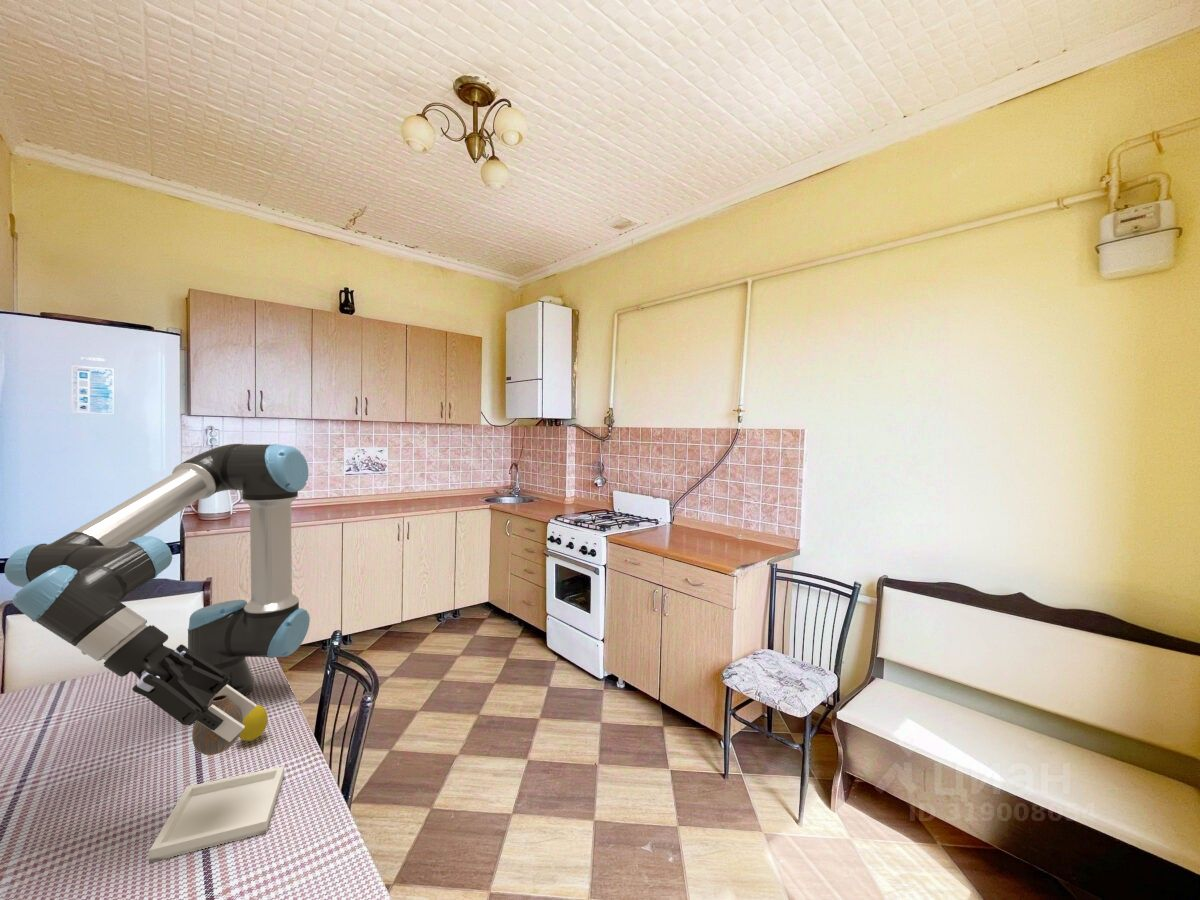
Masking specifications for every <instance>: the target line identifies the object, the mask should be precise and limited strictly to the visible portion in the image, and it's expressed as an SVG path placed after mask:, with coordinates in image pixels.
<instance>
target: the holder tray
mask: <svg viewBox="0 0 1200 900" xmlns="http://www.w3.org/2000/svg"><path fill="white" fill-rule="evenodd" d="M284 777H285V765H282V766H278V767H272V768H268V769H263V770H259V771H254V772H249V773H243V774H239V775H236V776H235V775H234V776H230V777H225V778H222V779H216V780H211V781H210V780H209V781H206V782H202V783H199V784H198V783H197V784H193V785H188V786H186V787H185V788H184V790H183V793H182V794H181V795H180V797H179V799H178V800H177V803H176V804H175V806H174V808H173V809H172V811H171V813H170V814H169V816H168V818H167V819H166V821H165V823H164V824H163V826H162V828H161V829H160V831H159V833H158V835H157V836H156V838H155V840H154V842H153V844H151V847H150V848H149V850H148V851H149V852H148V853H149V854H148V856H149V857H148V858H149V859H148V864H152V863H156V862H160V861H162V860H163V859H164V860H167V859H166V858H168V859H171V858H170V857H172V858H174V857H173V856H176V857H178V856H177V855H179V854H183V855H185V854H184V853H187V854H190V853H189V852H191V853H193V852H192V851H195V852H197V851H196V850H199V851H201V849H203V850H206V849H205V848H207V849H209V848H208V847H211V848H214V847H213V846H215V847H218V846H221V845H220V844H222V845H225V844H224V843H226V844H229V843H228V842H230V843H233V842H232V841H234V842H237V840H238V841H241V839H242V840H245V839H244V838H246V839H248V838H247V837H250V838H252V837H251V836H253V837H257V836H260V834H261V835H265V834H267V831H268V828H269V825H270V822H271V818H272V816H273V813H274V809H275V807H276V803H277V799H278V796H279V793H280V790H281V787H282V784H283V780H284ZM256 835H257V836H256ZM217 845H218V846H217ZM179 856H180V855H179Z"/></svg>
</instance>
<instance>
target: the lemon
mask: <svg viewBox="0 0 1200 900" xmlns="http://www.w3.org/2000/svg"><path fill="white" fill-rule="evenodd" d="M268 720H269V717H268V713H267V710H266V708H265V707H264V706H262V705H260V704H256V707H255V708H254V709H253V710H252V711H251V712H250V713H249V714H248V715H247V716H246V717H245V718H244V719H243V725H244V726H245V727H244V729H243V730H242V731H241V734H240V736H239V738H238V739H240V740H242V741H248V742H250V743H252V742H254V741H255V740H256V739H258V737H260V736H261V735H262V734H263V733H264V732H265V731H266V728H267V726H268Z"/></svg>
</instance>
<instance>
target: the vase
mask: <svg viewBox="0 0 1200 900" xmlns="http://www.w3.org/2000/svg"><path fill="white" fill-rule="evenodd" d="M212 704H213V705H215V706H216V707H217V708H219V709H220V710H222V711H223V712H225V713H226V714H228V715H229V716H231V717H232V718H234V719H235V720H237V721H238V722H240V723H241V724H243V715H242V711H241V709H240V708H239V706H238V705H236V704H235V703H234V702H233V701H231V700H230V698H229V696H228V695H226V694H222V695H217V696H215V697H213V698H212V699H211V700H210V702H209V704H208V706H209V707H210V706H211V705H212ZM240 734H241V732H240V733H239V734H238V735H237V736H236V737H235V738H234V739H233V740H232V741H231V742H228V741H227V740H225V739H224V738H222V737H221V736H219V735H218V734H216V733H215V732H213V731H212V730H210V729H209V728H207V727H206V726H204V725H203V724H201V723H200V722H198V721H195V722H194V723H193V727H192V733H191V735H192V736H191V737H192V744H193V746H194V748H195V750H196V751H197V752H198V753H200V754H202V755H205V756H213V755H217V754H221V753H224V752H225V751H227V750H229V749H230V748H232V746H234V744H235V743H236V742H237V741H238V740H239V739H240V738H239V736H240Z"/></svg>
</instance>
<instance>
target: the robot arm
mask: <svg viewBox="0 0 1200 900" xmlns="http://www.w3.org/2000/svg"><path fill="white" fill-rule="evenodd" d="M308 480H309V466H308V462H307V460H306V457H305V456H304V454H303V453H302V452H301V451H300V450H299V449H298V448H296V447H294V446H293V445H292V446H291V445H284V444H283V445H282V444H275V443H274V444H254V443H253V444H250V443H249V444H247V443H245V444H243V443H231V444H225V445H221V446H218V447H214V448H211V449H207V450H206V451H203V452H202V453H199V454H197V455H195V456H193V457H191V458H189V459H187V460H185V461H183V462H182V463H180V464H178V465H176V466H175V467H174V468H173V470H172V472H171V474H170V475H169V476H167V477H165V478H163V479H161V480H159V481H158V482H155V483H154V484H152V485H151V486H149V487H147V488H145V489H144V490H142V491H141V492H138V493H137V494H136V495H134V496H132V497H130V498H128V499H127V500H125V501H123V502H122V503H120V504H118V505H116V506H114V507H113V508H111V509H109V510H108V511H106V512H104V513H102V514H100V515H98V516H97V517H96V518H94V519H92V520H90V521H89V522H86V523H85V524H83V525H81V526H79V527H78V528H76V529H75V530H73V531H71V532H70V533H68V534H65V535H64V536H62V537H60V538H58V539H56V540H55V541H53V542H51V543H48V544H47V543H38V544H29V545H27V546H23V547H21V548H18V549H17V550H16V551H14V552H13V553H12V554H11V555H10V556H9V557H8V559H7V560H6V562H5V566H4V575H5V577H6V580H7V581H8V582H9V583H10V584H12V585H13V586H16V587H20V589H19V591H17V592H16V593H15V595H14V596H13V598H12V604H13V605H14V607H15V608H17V609H18V610H19V612H21V613H23V614H24V615H25V616H26V617H28V618H29V619H30V620H31V621H32V622H33V623H37V624H39V625H40V626H42V627H43V628H45V629H46V630H48V631H49V632H52V633H53V634H54V635H56V636H57V637H59V638H60V639H62V640H64V641H65V642H66V643H68V644H70V645H72V646H73V647H75V648H77V649H79V651H81V653H82V655H85V656H86V655H87V656H89V657H90V658H92V659H93V660H95V661H96V662H99V661H102V660H105V661H104V662H103V667H105V668H106V669H107V670H109V671H111V672H112V673H114V674H116V675H117V676H119V677H126V676H127V675H129V674H130V673H131V672H132V673H133V674H134V675H135V676H136V677H137V678H138V679H139V681H138V682H137V683H136V684H134V686H133V687H132V688H131V689H132V691H133V692H134V693H135V694H138V695H140V696H143V697H145V698H146V699H148V700H149V701H151V702H152V703H153V704H155V705H156V706H157V707H159V708H160V709H161V710H163V711H164V712H166V713H167V714H168V715H169V716H170V717H172V718H173V719H175V720H176V721H177V722H178V723H180V724H181V725H183V726H188V727H189V726H192V725H194V724H195V722H196V721H198V722H200V723H201V724H203V725H204V726H206V727H207V728H209V729H210V730H212V731H213V732H215V733H216V734H218V735H219V736H221V737H222V738H224V739H225V740H227V741H228V742H231V741H232V740H233V739H234V738H235V737H236V736H237V735H238V734H239V733H240V732H241V731H242V730H243V729H244V727H245V726H244V725H243V724H241V723H240V722H238V721H237V720H235V719H234V718H232V717H231V716H229V715H228V714H226V713H225V712H223V711H222V710H220V709H219V708H217V707H216V706H215V705H213V704H212V705H211V706H210V707H209V706H208V704H209V702H210V700H211V699H212V698H213V697H215V696H217V695H222V694H226V695H228V696H229V698H230V700H231V701H233V702H234V703H235V704H236V705H238V706H239V708H240V709H241V711H242V715H243V719H244V718H245V717H246V716H247V715H248V714H249V713H250V712H251V711H252V710H253V709H254V708H255V707H256V705H257V704H256V703H255V702H253V701H252V700H251V699H249V698H247V695H248V694H249V693H248V692H250V691H251V692H252V690H253V689H254V676H253V675H252V672H251V669H250V667H249V664H248V662H247V657H248V658H269V659H273V658H285V657H288V656H290V655H292V654H294V653H295V652H296V651H297V650H298V649H299V648H300V646H301V645H302V643H303V642H304V640H305V638H306V636H307V634H308V631H309V628H310V622H311V621H310V619H311V617H310V613H309V611H308V610H307V609H304V608H302V607H301V608H300V599H299V597H298V596H296V595H294V594H293V591H292V590H293V589H292V588H293V586H292V585H293V582H292V581H293V578H292V577H293V576H292V573H293V572H292V571H293V570H292V569H293V568H292V567H293V566H292V563H293V562H292V559H293V558H292V557H293V556H292V503H293V502H294V501H295V500H296V499H297V498H298V496H299V495H298V494H299V492H300V491H302V490H303V489H304V488H305V487H306V485H307V481H308ZM224 491H241V501H243V502H244V503H245V504H247V505H248V506H249V526H250V528H249V529H250V534H249V535H250V536H249V537H250V540H249V541H250V591H251V592H250V594H251V595H250V596H251V597H250V600H249V601H247V600H245V599H233V600H227V601H223V602H218V603H213V604H210V605H207V606H204V607H201V608H199V609H197V610H195V611H193V613H191V615H190V617H189V619H188V620H189V621H188V628H187V646H186V645H184V644H180V645H178V646H177V647H175V649H173V648H169V647H168V646H165V645H164V643H166V642H167V641H168V639H169V635H168V634H167V633H165V632H164V631H162V630H161V629H159V628H158V627H156V626H155V625H154V624H152V625H148V626H147V623H148V620H147V619H146V618H145V617H143V616H141V614H138V613H137V612H135V611H134V610H132V609H131V608H129V607H128V606H127V605H125V604H123V602H121V601H122V600H123V599H124V598H126V597H127V596H129V595H130V594H132V593H134V592H135V591H136V590H138V589H140V588H141V587H142V586H144V585H145V584H147V583H149V582H150V581H152V580H154V579H156V578H157V577H158V575H159V574H160V573H163V572H164V570H166V569H168V567H169V566H170V565H171V563H172V561H173V553H172V551H171V548H170V547H169V545H168V544H167V543H166V542H164V541H163V540H161V539H160V538H158V537H155V536H152V535H146V534H148V533H149V532H152V531H153V530H154V529H155V528H157V527H158V526H161V524H163V523H165V522H166V521H168V520H169V519H170V518H173V517H174V516H175V515H176V514H178V513H179V512H181V511H183V510H184V509H185V508H187V507H189V506H190V505H191V504H194V502H196V501H197V500H205V499H208V498H210V497H211V496H213V495H214V494H217V493H219V492H224ZM252 688H253V689H252ZM251 692H250V693H251ZM247 693H248V694H247ZM246 694H247V695H246ZM244 695H246V696H244Z"/></svg>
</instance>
